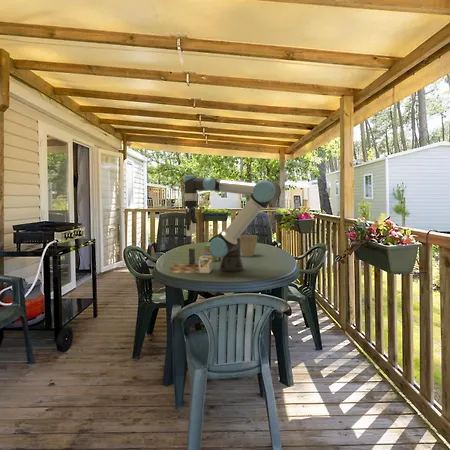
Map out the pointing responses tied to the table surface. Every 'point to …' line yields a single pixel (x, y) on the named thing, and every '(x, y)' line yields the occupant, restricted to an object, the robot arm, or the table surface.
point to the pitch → (184, 269)
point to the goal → (203, 269)
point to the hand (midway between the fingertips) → (191, 234)
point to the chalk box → (210, 254)
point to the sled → (192, 258)
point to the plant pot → (248, 244)
